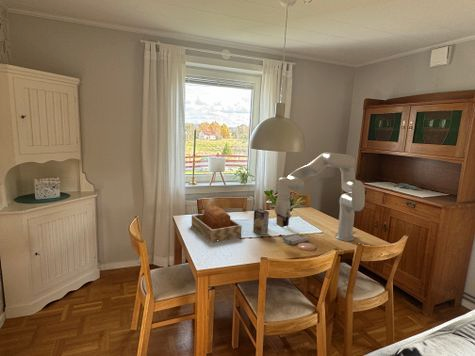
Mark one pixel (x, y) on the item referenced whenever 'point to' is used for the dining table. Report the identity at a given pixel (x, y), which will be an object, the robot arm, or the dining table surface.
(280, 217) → the walnut block
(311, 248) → the coaster
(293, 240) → the channel
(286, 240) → the push bar
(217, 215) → the bread
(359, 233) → the dining table surface
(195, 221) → the bread crate
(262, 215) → the coffee box
